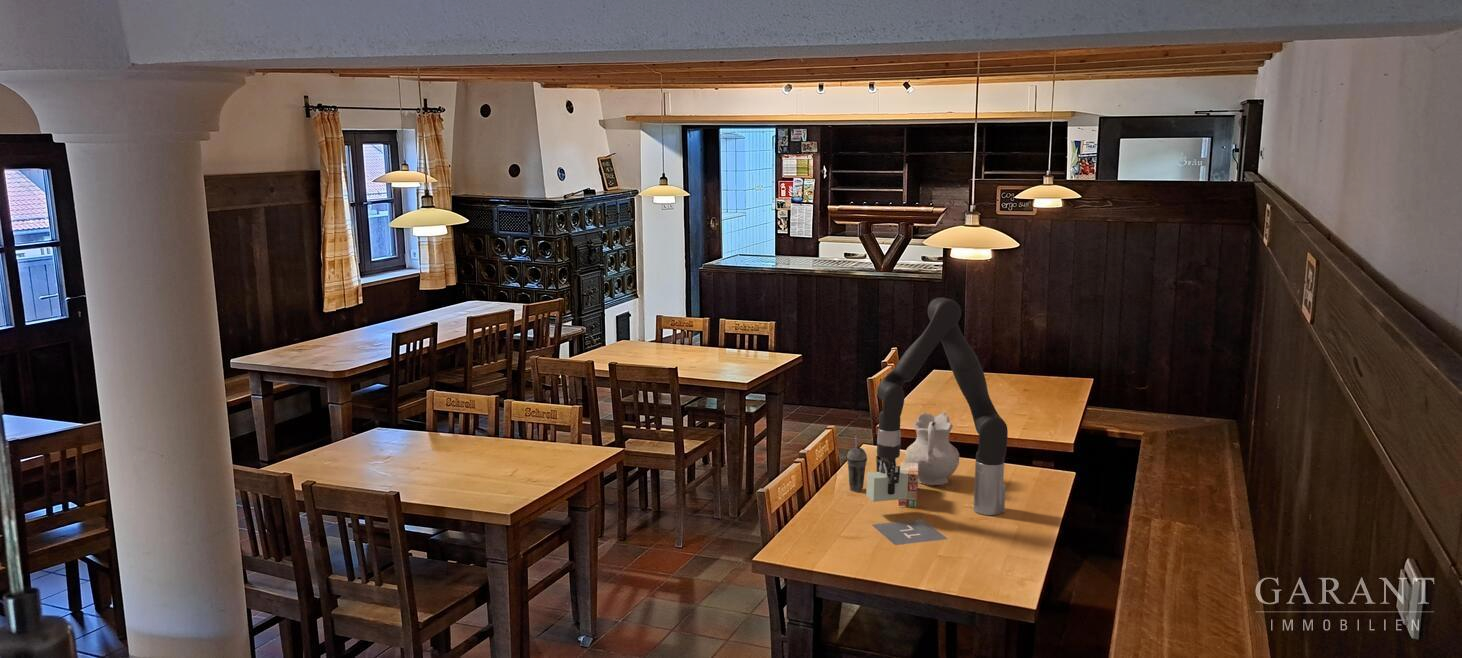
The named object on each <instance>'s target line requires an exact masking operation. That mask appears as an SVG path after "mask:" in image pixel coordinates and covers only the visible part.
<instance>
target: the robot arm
mask: <svg viewBox="0 0 1462 658" xmlns="http://www.w3.org/2000/svg"><path fill="white" fill-rule="evenodd" d="M927 306H928V307H927V316H928V319H929V321H930V322H929V323H928V324H927V327H925V329H924V331H923V332H922V334H921V335H920V336H918V337H917V339H916V340H915V341H914V342H913V343H911V345H909V347H908V348H907V349H906V351H905V352H904V353H903V355H902V356H901V357H900V359H899V360H898V362H897V363H896V365H895V367H894V368H893V369H892V370H890V371H889V372H888V374H886V376H884V377H883V378H882V380H881V381H880V382H879V384H878V386H877V388H876V389H877V390H876V393H877V397H878V398H879V399H880V401H882V402H883V408H882V411H879V415H878V429H877V438H876V457H875V459H876V472H885V474H886V477H888V494H889V495H892V494H894V493H895V483H899V475H900V465H898V466H897V463H896V459H898V458H899V457H900V455H901V439H902V438H901V436H902V435H901V416H902V413H903V408H904V405H905V391H904V390H903V386H904V385H905V384H906V383H908V382H912V381H913V380H914V378H915V377H916V376H917V374H918V372H919V371H920V370H921V368H922V366H923V365H924V363H925V362H926V361H927V359H928V357H929V356H931V353H932V352H933V351H934V350H935V348H936V347H937V346H938V345H939V343H941V344H942V346H943V350H944V353H945V355H946V358H947V361H948V363H949V366H950V369H951V371H952V373H953V376H954V378H955V379H954V380H955V381H956V383H957V385H958V387H959V390H960V391H961V393H962V395H963V397H964V398H965V401H966V403H967V404H968V406H969V410H970V412H971V415H972V416H971V417H972V419H973V423H974V428H975V430H976V432H977V434H978V447H977V451H976V452H975V453H976V454H975V466H974V467H975V468H974V470H975V472H974V491H973V511H974V512H975V513H977V514H981V515H984V516H996V515H1000V514H1002V513H1005V509H1006V508H1005V507H1006V506H1005V504H1006V488H1007V487H1006V486H1007V485H1006V484H1005V483H1004V475H1005V474H1004V473H1005V472H1004V471H1005V458H1006V455H1007V449H1008V448H1007V446H1008V437H1009V436H1008V434H1009V433H1008V425H1007V423H1006V421H1004V419H1003V418H1002V417H1001V416H1000V415H999V414H1000V413H998V412H997V409H996V408H995V405H994V404H993V402H992V399H991V398H990V394H989V390H988V385H987V380H986V375H985V372H984V370H983V368H982V366H981V362H980V360H979V358H978V355H977V354H976V352H975V351H974V349H973V348H972V346H971V345H970V343H969V342H968V341H967V340H966V338H965V336H964V335H963V332H962V331H961V328H960V325H959V323H958V322H959V321H960V319H961V317H962V307H961V306H960V305H959V303H958V302H957V301H955V300H953V299H950V298H948V297H947V298H946V297H936V298H933V299H932V300H931V301H930V302H929V304H928V305H927ZM889 473H891V474H889ZM890 477H891V480H890Z"/></svg>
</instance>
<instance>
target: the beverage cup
mask: <svg viewBox="0 0 1462 658" xmlns="http://www.w3.org/2000/svg"><path fill="white" fill-rule="evenodd" d="M846 460H847V466H848V469H847V470H848V479H849V480H848V484H849V485H848V486H849V490H850V492H853V491H854V492H855V493H858V492H859V491H860V492H862V491H863V487H864V482H865V473H866V466H867V461H868V455H867V453H866V451H865V450H864V448H862V447H859V446H858V436H857V435H855V446H854V447H852V448H851V449H849V450H848V453H847V455H846Z"/></svg>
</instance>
